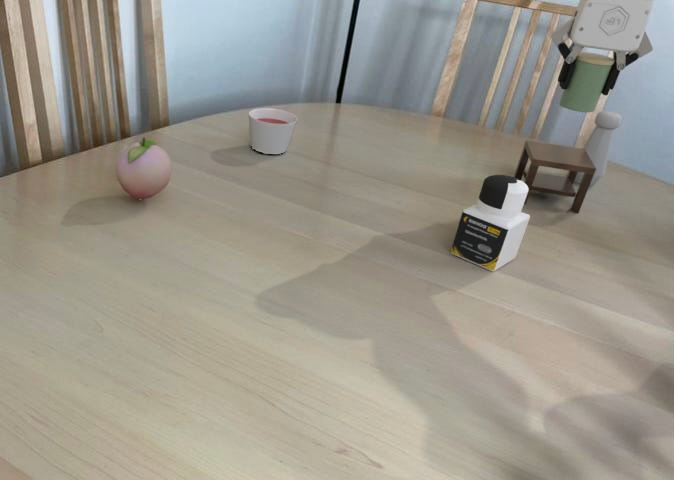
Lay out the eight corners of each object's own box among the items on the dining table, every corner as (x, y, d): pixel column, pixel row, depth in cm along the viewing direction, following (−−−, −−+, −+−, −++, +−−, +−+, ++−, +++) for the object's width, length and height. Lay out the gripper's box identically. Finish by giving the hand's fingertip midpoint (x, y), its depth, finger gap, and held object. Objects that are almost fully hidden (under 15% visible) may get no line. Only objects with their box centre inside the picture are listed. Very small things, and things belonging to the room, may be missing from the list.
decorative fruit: (163, 216, 113) (166, 152, 107) (110, 208, 113) (111, 144, 108) (174, 192, 120) (178, 131, 115) (125, 185, 121) (126, 124, 115)
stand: (568, 191, 135) (584, 149, 131) (578, 213, 127) (596, 168, 123) (511, 182, 137) (525, 140, 132) (518, 203, 129) (533, 158, 124)
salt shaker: (570, 184, 139) (596, 114, 131) (565, 173, 143) (590, 105, 136) (603, 189, 138) (631, 119, 130) (596, 178, 142) (624, 110, 135)
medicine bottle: (448, 253, 110) (472, 176, 103) (472, 241, 114) (496, 166, 108) (493, 273, 106) (520, 194, 99) (515, 259, 110) (543, 182, 104)
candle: (269, 138, 146) (273, 105, 142) (301, 153, 140) (307, 119, 137) (235, 145, 141) (238, 112, 137) (267, 161, 135) (272, 127, 132)
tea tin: (591, 104, 125) (610, 55, 120) (598, 114, 120) (618, 63, 116) (555, 99, 126) (573, 50, 121) (561, 109, 121) (579, 58, 116)
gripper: (573, -37, 109) (531, 88, 119) (697, -22, 107) (644, 104, 117) (564, -43, 115) (525, 76, 126) (681, -29, 113) (632, 92, 123)
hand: (583, 89), depth 121 cm, fingers closed on tea tin, 5 cm apart
